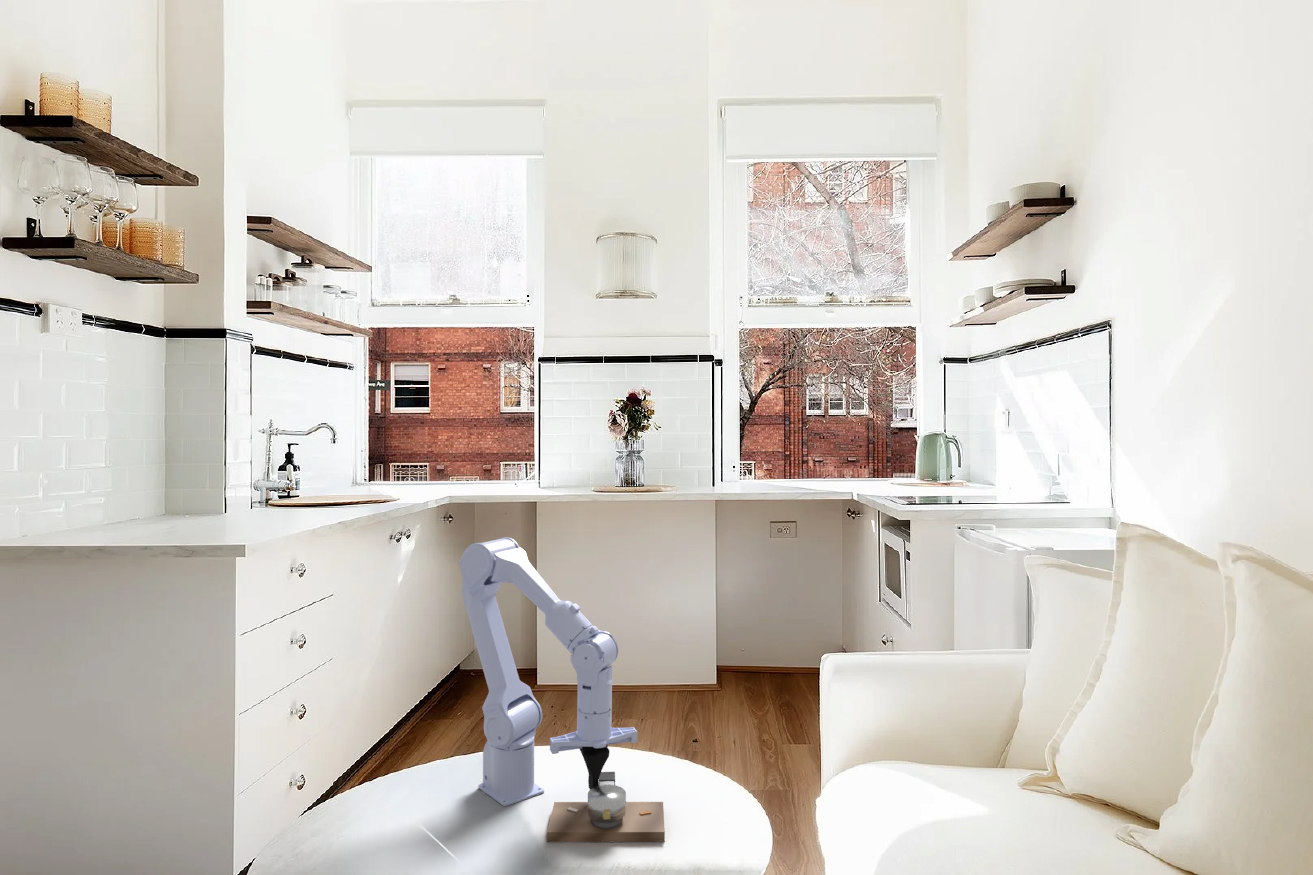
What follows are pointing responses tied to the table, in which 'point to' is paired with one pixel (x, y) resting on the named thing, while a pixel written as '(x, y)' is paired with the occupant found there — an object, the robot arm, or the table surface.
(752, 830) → the table surface
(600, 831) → the mounting board
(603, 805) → the silver saucepan
